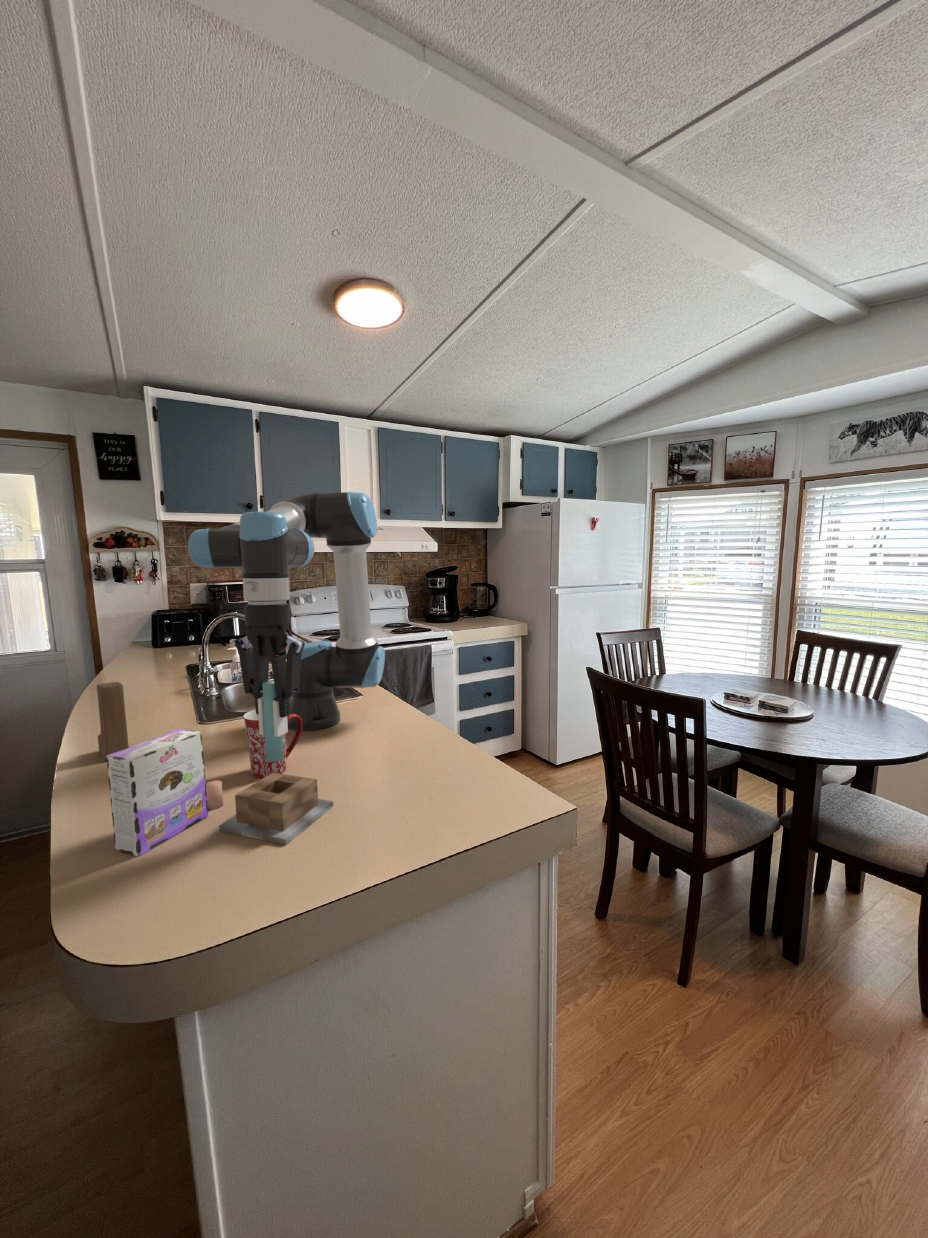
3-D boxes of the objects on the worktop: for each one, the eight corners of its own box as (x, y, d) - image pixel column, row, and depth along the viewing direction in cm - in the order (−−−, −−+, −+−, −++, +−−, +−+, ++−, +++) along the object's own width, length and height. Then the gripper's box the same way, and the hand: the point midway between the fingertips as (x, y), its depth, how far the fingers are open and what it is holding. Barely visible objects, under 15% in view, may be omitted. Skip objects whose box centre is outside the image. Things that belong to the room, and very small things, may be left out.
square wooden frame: (273, 795, 103) (271, 767, 102) (333, 806, 98) (332, 776, 97) (219, 831, 90) (217, 798, 89) (286, 845, 85) (284, 811, 84)
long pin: (273, 755, 94) (270, 680, 92) (287, 757, 93) (283, 681, 91) (262, 761, 91) (258, 684, 90) (276, 763, 90) (272, 685, 89)
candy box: (186, 811, 97) (179, 727, 95) (209, 817, 95) (203, 731, 93) (113, 850, 84) (104, 754, 82) (138, 857, 82) (129, 759, 80)
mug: (254, 784, 108) (250, 722, 106) (241, 770, 115) (237, 712, 113) (311, 768, 116) (309, 710, 114) (296, 756, 123) (293, 701, 121)
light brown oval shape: (214, 801, 101) (213, 779, 100) (226, 803, 100) (225, 781, 99) (202, 808, 98) (200, 786, 97) (214, 811, 97) (213, 788, 96)
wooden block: (98, 752, 127) (92, 681, 124) (120, 747, 130) (113, 678, 128) (107, 762, 120) (100, 687, 118) (129, 756, 124) (123, 684, 121)
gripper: (215, 603, 88) (223, 735, 91) (290, 605, 83) (297, 745, 86) (246, 600, 95) (253, 722, 98) (318, 601, 90) (323, 731, 93)
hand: (273, 733), depth 92 cm, fingers closed on long pin, 2 cm apart
